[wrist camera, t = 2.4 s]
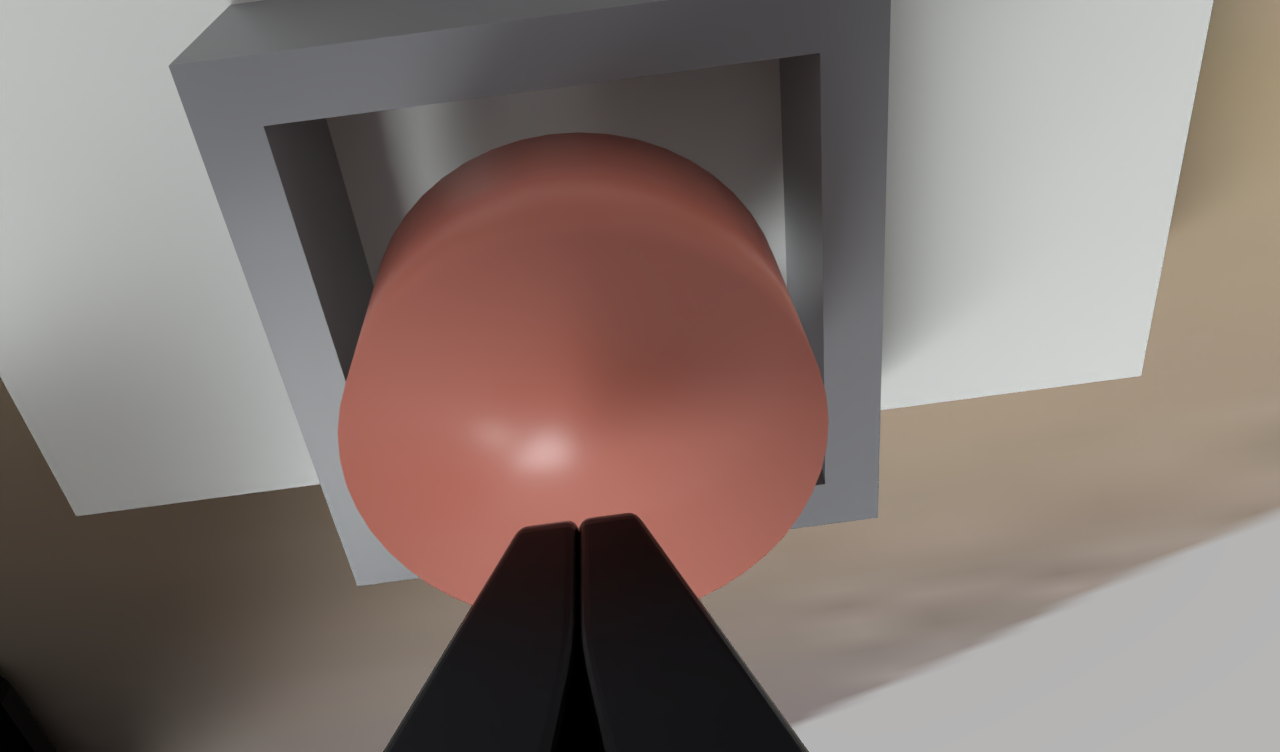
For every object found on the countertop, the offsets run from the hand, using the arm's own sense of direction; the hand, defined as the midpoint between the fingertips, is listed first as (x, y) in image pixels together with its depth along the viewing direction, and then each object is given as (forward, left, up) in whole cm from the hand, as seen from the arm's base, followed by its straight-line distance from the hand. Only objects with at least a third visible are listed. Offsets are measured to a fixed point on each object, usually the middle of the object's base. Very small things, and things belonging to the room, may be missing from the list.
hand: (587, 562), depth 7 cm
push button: (0, 0, -3) cm, 3 cm away
